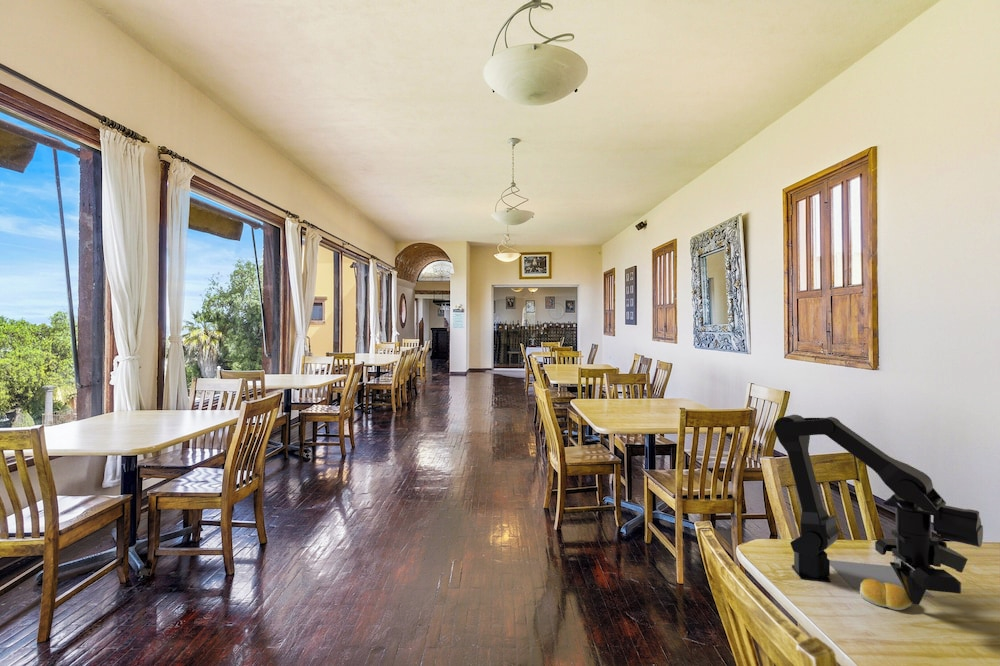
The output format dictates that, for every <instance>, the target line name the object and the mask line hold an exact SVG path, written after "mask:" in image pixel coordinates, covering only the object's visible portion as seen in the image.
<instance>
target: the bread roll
mask: <svg viewBox="0 0 1000 666" xmlns="http://www.w3.org/2000/svg"><path fill="white" fill-rule="evenodd" d="M859 595H860V597H861V598H862V599H863V600H865V601H866V602H868V603H870V604H873V605H876V606H879V607H886V608H888V609H891V610H894V611H895V610H896V611H903V610H905V609H908V608H910V607H911V606H912V604H913V603H912V602H911V601H910V599H909V597H908V595H907V593H906V591H905V589H903V588H902V587H900V586H898V585H895V584H891V583H883V584H882V583H881V582H879V581H877V580H875V579H871V578H868V579H864V580H863V581H862V582H861V586H860V589H859Z"/></svg>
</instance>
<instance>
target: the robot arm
mask: <svg viewBox="0 0 1000 666" xmlns="http://www.w3.org/2000/svg"><path fill="white" fill-rule="evenodd" d="M773 430H774V433H775V435H776V438H777V440H778V442H779V443H780V445H781V446H782V448H783V449H784V450H785V452H786V453H787V457H788V460H789V461H788V462H789V464H790V468H791V471H792V475H793V476H792V477H793V480H794V483H795V488H796V492H797V495H798V499H799V503H800V508H801V513H800V515H801V516H800V523H799V525H800V526H799V527H800V536H798V537H796V538H795V539H794V540H791V541H790V543H789V544H790V547H791V549H792V551H793V559H794V561H793V564H792V565H791V568H792V570H793V571H794V572H795V574H797V576H798V578H800V579H801V580H806V581H813V582H814V581H815V582H825V583H831V582H832V581H831V578H829V577H830V575H831V573H830V572H831V569H830V567H831V565H830V560H831V559H829V558H828V553H827V552H826V551H825V550H827V549H828V548H829V547H831V546H832V545H833V544H834V543H836V542H837V540H838V537H839V535H838V534H840V533H841V531H840V529H839V528H838V525H837V518H836V515H834V514H832V515H829V514H828V512H827V511H826V510H825V508H824V506H823V503H822V498H821V495H820V490H819V486H818V482H817V479H816V475H815V471H814V468H813V464H812V463H813V462H812V459H811V456H810V453H809V446H810V438H811V436H819V435H820V436H823V435H825V436H826V437H828V438H829V439H830V440H832V441H833V442H834V443H836V444H837V445H838V446H840V447H842V449H844V450H845V451H847V452H849V454H851V455H852V456H854V457H855V458H856V459H857V460H860V462H862V463H864V464H865V465H866V466H867V467H869V468H870V469H871V470H872V471H874V472H875V473H876V474H877V475H878V477H879V478H880V479H881V481H882V483H884V484H885V486H887V487H888V488H889V489H890V490H891V491H892V493H894V494H892V495H891V496H890V498H889V497H888V498H887V499H886V500H884V501H883V502H882V503H883V505H884V506H889V507H893V508H895V529H891V535H893V537H895V539H889V538H878V539H877V540H875V541H874V546H875V548H874V549H875V551H876V552H877V553H879V555H883V556H885V555H886V554H887V552H892V554H891V557H893V561H890V562H889V566H892V567H893V569H894V571H895V573H896V574H897V576H898V578H899V580H900V582H901V583H902V585H903V587H904V589H905V591H906V593H907V595H908V597H909V599H910V601H911V602H912V604H913V605H920V603H921V602H922V599H923V597H924V596H923V595H924V593H925V591H928V592H929V591H931V592H932V591H933V592H941V593H950V594H951V593H952V594H962V582H961V581H960V580H959V579H957V577H955V576H953V575H952V574H951V573H950V572H948V571H946V570H945V569H941V567H942V565H943V566H945V567H949V568H951V569H953V570H955V571H956V572H958V573H962V574H963V571H964V569H965V566H966V565H967V562H968V558H967V557H966V556H964V555H962V554H960V553H959V552H957V551H955V550H953V549H952V548H950V547H948V544H947V542H946V541H944V540H942V539H945V540H948V541H953V542H957V543H962V544H965V545H969V546H973V547H977V548H981V547H982V544H983V540H984V539H983V538H984V525H982V520H981V516H980V511H978V510H974V509H968V508H967V509H966V508H962V507H961V508H959V507H955V506H949V505H947V502H946V501H945V500H944V498H943V497H942V496H941V494H940V493H938V492H937V490H936V489H935V488H934V485H933V482H932V478H930V476H928V474H927V473H925V472H923V471H921V470H919V469H918V468H916V467H913V466H912V465H910V464H908V463H905V462H903V461H900V460H897V459H895V458H893V457H891V456H889V455H888V454H886V453H885V452H883V451H882V450H881V449H879V448H878V447H876V446H875V445H874V444H872V443H871V442H869V441H868V440H866V439H865V438H864V437H862V436H860V435H859V434H858V433H856V432H855V431H853V430H852V429H851V428H850V427H848V426H846V425H845V424H843V422H841V421H840V419H838V418H836V417H834V416H827V417H803V416H802V415H798V414H790V415H786V416H782V417H779V418H777V420H775V422H774V425H773ZM932 517H933V518H932ZM932 520H933V521H932ZM932 526H933V531H934V532H936V535H938V536H940V538H938V537H936V536H933V537H932ZM935 567H937V568H935Z"/></svg>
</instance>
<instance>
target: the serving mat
mask: <svg viewBox="0 0 1000 666" xmlns="http://www.w3.org/2000/svg"><path fill="white" fill-rule="evenodd" d="M829 560H830V567H831V568H833V570H834V571H835V572H836V573H837V574H838V575H839V576H840V577H841V578H842V579H843V580H844V581H846V583H847V584H848V585H849V586H850V587H851V588H853V589H858V590H860V586H861V582H862V581H863V580H864V579H868V578H871V579H875V580H877V581H879V582H881V583H882V584H883V583H891V584H895V585H898V586H900V587H902V588H903V589H904V587H903V585H902V583H901V582H900V580H899V578H898V576H897V574H896V573H895V571H894V569H893V567H892V566H891V565H884V564H875V563H874V564H873V563H863V562H853V561H851V562H850V561H842V560H833V559H832V560H831V559H829ZM923 597H933V598H934V595H933V594H931V593H930V592H929V590H926V591H925V593H924V595H923Z"/></svg>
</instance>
